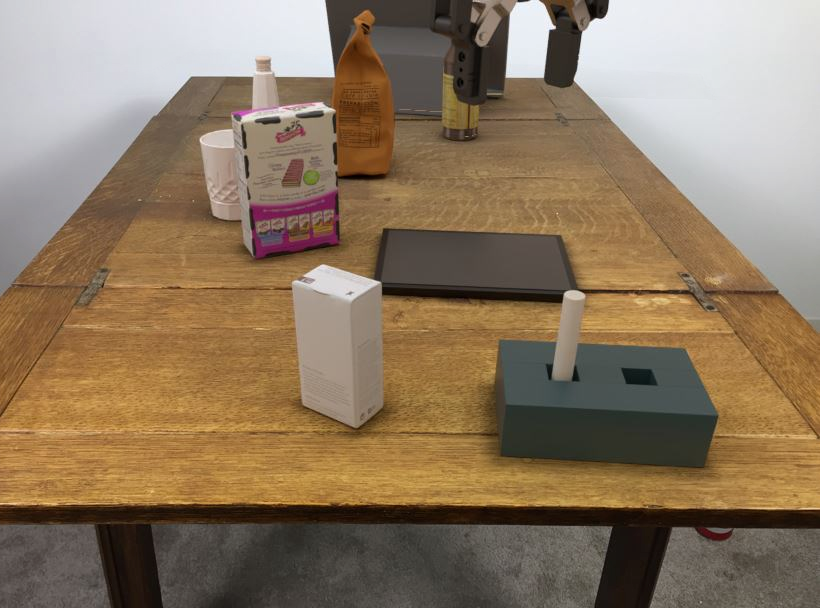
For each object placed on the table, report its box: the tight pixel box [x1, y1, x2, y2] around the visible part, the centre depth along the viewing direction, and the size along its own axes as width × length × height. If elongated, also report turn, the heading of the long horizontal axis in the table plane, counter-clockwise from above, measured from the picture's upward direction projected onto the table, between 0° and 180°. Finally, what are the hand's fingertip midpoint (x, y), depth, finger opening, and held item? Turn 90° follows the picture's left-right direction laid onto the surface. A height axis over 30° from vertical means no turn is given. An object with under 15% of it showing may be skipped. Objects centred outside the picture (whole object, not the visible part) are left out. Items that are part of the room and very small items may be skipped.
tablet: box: [373, 227, 580, 303], centre depth 91 cm, size 16×22×1 cm
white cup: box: [199, 128, 242, 221], centre depth 103 cm, size 8×8×10 cm
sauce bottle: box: [441, 21, 480, 142], centre depth 130 cm, size 6×6×20 cm
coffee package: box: [330, 10, 396, 178], centre depth 116 cm, size 10×12×22 cm
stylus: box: [551, 290, 586, 381], centre depth 62 cm, size 2×2×12 cm
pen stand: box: [493, 338, 720, 468], centre depth 64 cm, size 10×16×5 cm, turn 85°
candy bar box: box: [230, 101, 341, 260], centre depth 92 cm, size 11×5×16 cm, turn 114°
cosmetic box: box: [291, 263, 385, 429], centre depth 64 cm, size 6×4×12 cm
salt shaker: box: [251, 55, 281, 110], centre depth 141 cm, size 5×5×11 cm
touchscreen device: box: [324, 0, 511, 117], centre depth 148 cm, size 35×20×30 cm, turn 77°
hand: (516, 94), depth 54 cm, fingers open, 8 cm apart
